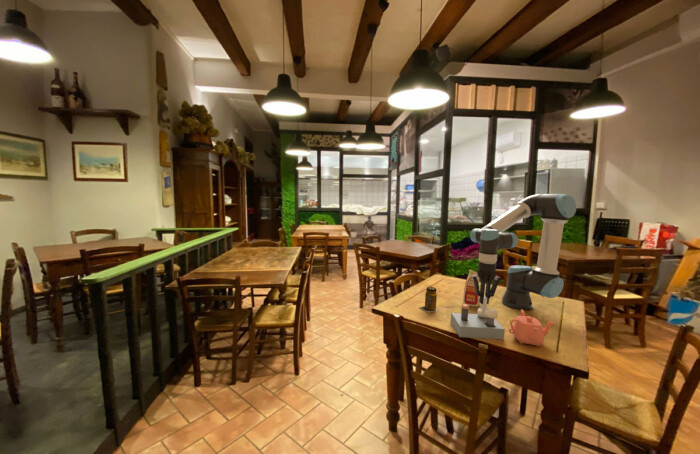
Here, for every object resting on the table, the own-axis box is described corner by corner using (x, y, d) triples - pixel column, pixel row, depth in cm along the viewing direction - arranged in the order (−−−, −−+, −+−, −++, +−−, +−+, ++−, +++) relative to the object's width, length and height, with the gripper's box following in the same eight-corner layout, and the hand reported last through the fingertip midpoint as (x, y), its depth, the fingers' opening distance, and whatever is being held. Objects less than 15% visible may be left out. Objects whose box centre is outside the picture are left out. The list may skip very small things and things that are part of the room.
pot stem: (466, 318, 129) (467, 304, 128) (469, 321, 125) (470, 307, 125) (459, 317, 129) (460, 303, 128) (461, 321, 126) (462, 306, 125)
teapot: (519, 329, 129) (521, 307, 128) (553, 344, 117) (556, 320, 115) (500, 336, 122) (503, 313, 121) (534, 353, 110) (537, 327, 108)
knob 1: (485, 323, 133) (486, 308, 132) (489, 328, 128) (491, 313, 127) (474, 322, 134) (476, 308, 133) (478, 327, 129) (480, 312, 128)
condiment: (439, 309, 150) (440, 288, 148) (429, 313, 145) (430, 291, 144) (428, 305, 156) (430, 285, 154) (418, 308, 151) (419, 287, 150)
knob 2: (493, 324, 125) (494, 308, 124) (498, 329, 120) (499, 313, 119) (481, 323, 125) (483, 308, 124) (486, 328, 120) (487, 312, 119)
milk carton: (463, 304, 158) (465, 271, 155) (463, 299, 166) (465, 267, 164) (480, 307, 154) (483, 273, 152) (479, 301, 163) (482, 269, 160)
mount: (490, 324, 134) (490, 314, 133) (503, 339, 120) (504, 328, 119) (450, 322, 135) (451, 312, 134) (459, 337, 121) (460, 326, 121)
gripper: (498, 260, 130) (494, 307, 133) (470, 259, 131) (466, 306, 134) (505, 264, 123) (501, 314, 126) (476, 263, 124) (472, 312, 127)
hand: (483, 310), depth 130 cm, fingers closed
